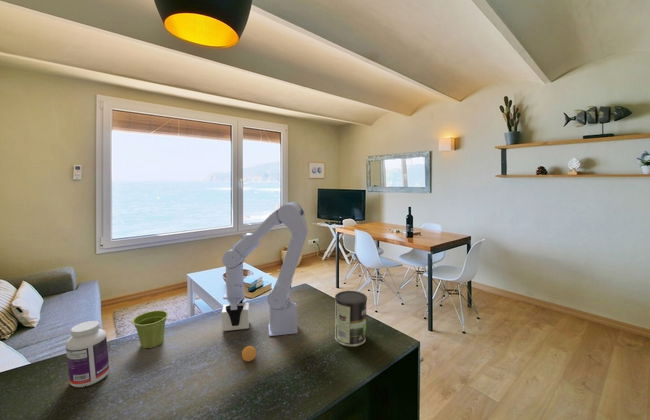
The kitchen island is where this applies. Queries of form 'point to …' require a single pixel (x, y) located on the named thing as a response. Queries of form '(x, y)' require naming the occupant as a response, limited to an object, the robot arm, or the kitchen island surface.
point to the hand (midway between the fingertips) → (236, 320)
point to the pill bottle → (87, 354)
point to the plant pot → (150, 328)
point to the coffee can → (350, 318)
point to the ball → (249, 353)
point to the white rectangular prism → (242, 323)
